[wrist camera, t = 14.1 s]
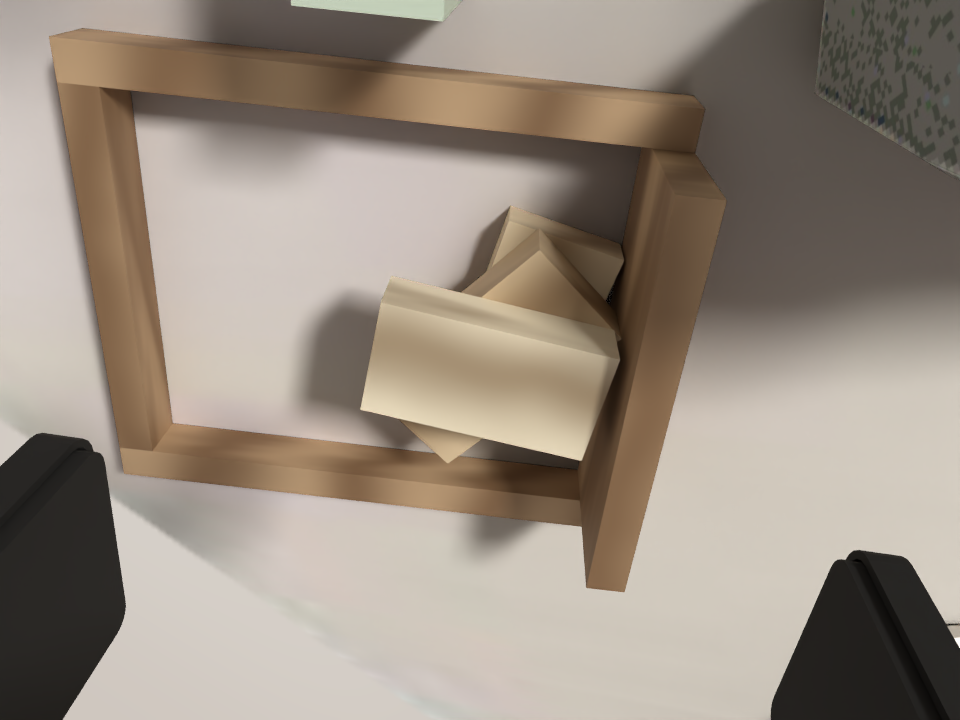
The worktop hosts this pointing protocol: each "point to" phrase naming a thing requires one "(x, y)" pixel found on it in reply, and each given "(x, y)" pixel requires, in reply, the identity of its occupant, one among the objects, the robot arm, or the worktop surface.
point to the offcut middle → (531, 285)
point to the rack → (417, 98)
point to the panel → (388, 7)
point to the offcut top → (488, 368)
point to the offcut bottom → (564, 247)
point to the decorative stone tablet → (896, 72)
